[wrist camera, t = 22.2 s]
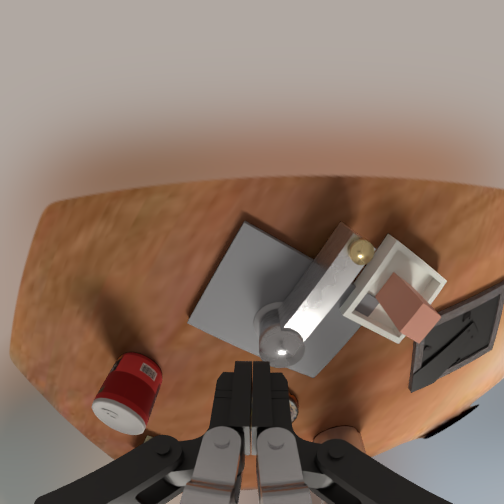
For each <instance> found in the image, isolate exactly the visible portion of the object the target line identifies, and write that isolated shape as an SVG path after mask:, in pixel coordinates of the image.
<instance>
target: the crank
mask: <svg viewBox="0 0 504 504" xmlns="http://www.w3.org/2000/svg"><path fill="white" fill-rule="evenodd" d="M375 250H376V249H375V248H374V247H373V245H372V244H371V243H370V242H369V241H368V240H366V239H365V238H363V237H362V236H361V235H359V234H358V233H357V232H355V231H354V230H352V229H351V228H349V227H348V226H347V225H345V224H344V223H342V222H341V221H340V223H339V224H338V226H337V227H336V229H335V230H334V232H333V233H332V235H331V236H330V238H329V239H328V241H327V242H326V243H325V245H324V246H323V248H322V249H321V251H320V252H319V254H318V255H317V256H316V258H315V259H314V261H313V262H312V263H311V265H310V266H309V268H308V269H307V270H306V272H305V273H304V275H303V276H302V277H301V279H300V280H299V282H298V283H297V284H296V286H295V287H294V288H293V290H292V291H291V292H290V294H289V295H288V297H287V298H286V299H285V301H284V302H283V303H282V305H281V306H280V307H279V308H277V309H272V310H270V311H268V312H267V313H265V314H264V315H263V316H262V318H261V320H260V322H259V355H260V358H261V359H262V361H270V366H272V367H276V368H285V367H289V366H292V365H294V364H296V363H297V362H299V361H300V360H301V359H302V357H303V355H304V353H305V346H304V341H305V339H306V338H307V337H308V336H309V335H310V334H311V332H312V331H313V330H314V329H315V328H316V327H317V325H318V324H319V323H320V322H321V321H322V319H323V318H324V317H325V316H326V314H327V313H328V312H329V311H330V310H331V308H332V307H333V306H334V305H335V303H336V302H337V301H338V299H339V298H340V297H341V296H342V294H343V293H344V292H345V290H346V289H347V288H348V287H349V285H350V284H351V283H352V281H353V280H354V279H355V277H356V276H357V275H358V273H359V272H360V271H361V269H362V268H363V266H364V265H365V264H367V263H369V262H370V261H371V260H372V258H373V256H374V251H375Z"/></svg>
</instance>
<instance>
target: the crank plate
mask: <svg viewBox="0 0 504 504" xmlns="http://www.w3.org/2000/svg"><path fill="white" fill-rule="evenodd" d="M313 261H314V260H313V259H312V258H310V257H308V256H307V255H305V254H303V253H301V252H300V251H298V250H296V249H294V248H293V247H291V246H289V245H287V244H286V243H284V242H282V241H280V240H279V239H277V238H275V237H273V236H271V235H270V234H268V233H266V232H264V231H263V230H261V229H259V228H257V227H255V226H254V225H252V224H250V223H248V222H247V221H244V222H243V224H242V226H241V228H240V229H239V231H238V233H237V234H236V236H235V238H234V240H233V241H232V243H231V245H230V247H229V248H228V250H227V252H226V254H225V255H224V257H223V259H222V261H221V262H220V264H219V266H218V268H217V269H216V271H215V273H214V275H213V276H212V278H211V280H210V282H209V284H208V285H207V287H206V289H205V291H204V292H203V294H202V296H201V298H200V300H199V301H198V303H197V305H196V307H195V309H194V310H193V312H192V314H191V316H190V318H189V320H188V322H187V323H188V324H190V325H192V326H194V327H196V328H198V329H200V330H202V331H204V332H206V333H209V334H211V335H213V336H215V337H217V338H219V339H221V340H223V341H225V342H228V343H230V344H232V345H234V346H236V347H239V348H241V349H243V350H245V351H248V352H250V353H252V354H255V355H257V356H259V357H260V355H259V322H260V320H261V318H262V316H263V315H264V314H265V313H267V312H268V311H270V310H272V309H277V308H279V307H280V306H281V305H282V303H283V302H284V301H285V299H286V298H287V297H288V295H289V294H290V292H291V291H292V290H293V288H294V287H295V286H296V284H297V283H298V282H299V280H300V279H301V277H302V276H303V275H304V273H305V272H306V270H307V269H308V268H309V266H310V265H311V263H312V262H313ZM355 288H356V286H355V284H354V283H353V282H352V283H351V284H350V285H349V287H348V288H347V289H346V290H345V292H344V293H343V294H342V296H341V297H340V298H339V299H338V301H337V302H336V303H335V305H334V306H333V307H332V308H331V310H330V311H329V312H328V313H327V314H326V316H325V317H324V318H323V319H322V321H321V322H320V323H319V324H318V325H317V327H316V328H315V329H314V330H313V331H312V332H311V334H310V335H309V336H308V337H307V338H306V339H305V341H304V346H305V353H304V355H303V357H302V359H301V360H300V361H299V362H297V363H296V364H294V365H292V366H289V367H286V368H289V369H291V370H294V371H296V372H299V373H302V374H304V375H307V376H310V377H312V378H314V377H315V376H316V375H317V374H318V373H319V372H320V371H321V370H322V369H323V368H324V367H325V366H326V365H327V364H328V363H329V362H330V360H331V359H332V358H333V357H334V356H335V355H336V354H337V353H338V352H339V351H340V350H341V348H342V347H343V346H344V345H345V344H346V343H347V342H348V340H349V339H350V338H351V337H352V336H353V335H354V333H355V332H356V331H357V330H358V329H359V328H360V326H361V325H360V324H358V323H356V322H354V321H352V320H350V319H349V318H347V317H345V316H343V315H342V313H341V311H340V307H341V306H342V305H343V303H344V302H345V301H346V299H347V298H348V297H349V296H350V294H351V293H352V292H353V290H354V289H355ZM378 304H379V302H378V300H377V299H376V298H375V297H374V296H372V295H371V294H369V293H367V294H366V295H365V296H364V297H363V299H362V300H361V301H360V303H359V304H358V305H357V307H356V308H355V309H354V310H356V311H358V312H359V313H361V314H363V315H365V316H367V317H369V315H370V314H371V313H372V312H373V310H374V309H375V308H376V307H377V305H378Z"/></svg>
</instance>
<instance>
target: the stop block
mask: <svg viewBox="0 0 504 504" xmlns="http://www.w3.org/2000/svg"><path fill="white" fill-rule="evenodd" d="M375 298H376V299H377V300H378V302H379V303H380V305H381V306H382V307H383V309H384V310H385V312H386V313H387V314H388V316H389V317H390V319H391V320H392V322H393V323H394V325H395V326H396V327H397V329H398V330H399V332H400V333H402V334H404V335H405V336H407V337H409V338H410V339H412V340H414V341H415V342H417V343H420V342H421V341H422V340H423V339H424V338H425V336H426V335H427V334H428V333H429V332H430V330H431V329H432V328H433V327H434V326H435V324H436V323H437V322H438V321H439V319H440V318H441V316H440V315H439V314H438V313H437V312H436V310H435V309H434V308H433V307H432V306H431V305H430V304H429V303H428V302H427V301H426V300H425V299H424V298H423V297H422V296H421V295H420V294H419V293H418V292H417V291H416V290H415V289H414V288H413V287H412V286H411V285H410V284H409V283H407V282H406V281H405V280H404V279H402V278H401V277H400V276H398V275H397V274H396V273H394V272H393V273H392V275H391V276H390V278H389V279H388V280H387V281H386V283H385V284H384V285H383V287H382V288H381V289H380V291H379V292H378V293H377V294H376V296H375Z"/></svg>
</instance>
